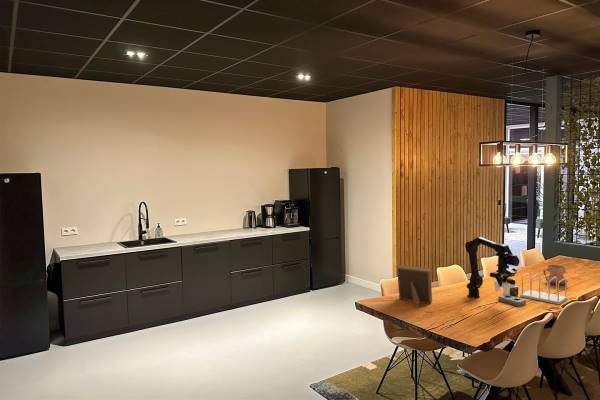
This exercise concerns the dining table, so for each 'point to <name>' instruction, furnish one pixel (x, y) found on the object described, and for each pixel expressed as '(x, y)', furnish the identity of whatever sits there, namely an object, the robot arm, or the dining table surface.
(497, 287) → the white arch block
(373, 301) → the dining table surface
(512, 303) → the grey base block
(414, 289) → the photo frame
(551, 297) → the file sorter
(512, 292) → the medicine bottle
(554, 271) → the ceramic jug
